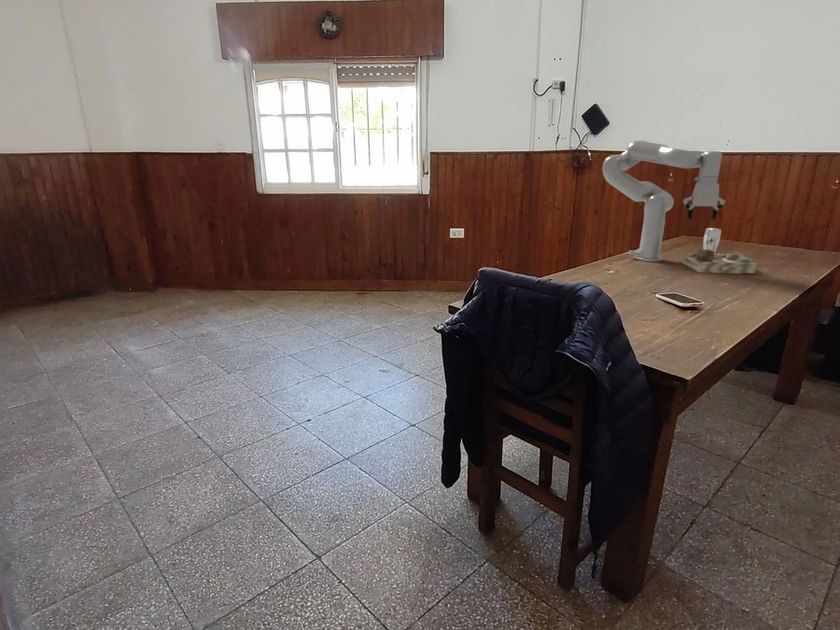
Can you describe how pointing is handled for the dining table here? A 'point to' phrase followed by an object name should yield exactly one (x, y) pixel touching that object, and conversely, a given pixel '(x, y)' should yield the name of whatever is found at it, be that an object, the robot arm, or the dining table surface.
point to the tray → (720, 263)
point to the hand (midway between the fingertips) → (700, 218)
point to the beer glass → (711, 239)
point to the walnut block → (705, 255)
